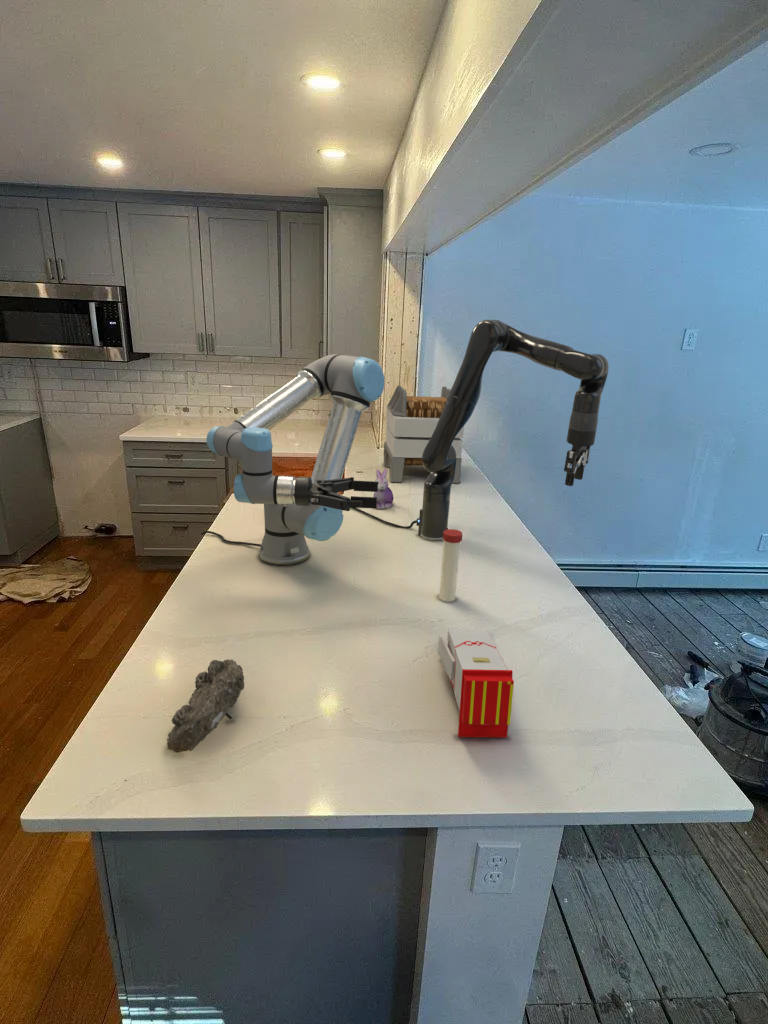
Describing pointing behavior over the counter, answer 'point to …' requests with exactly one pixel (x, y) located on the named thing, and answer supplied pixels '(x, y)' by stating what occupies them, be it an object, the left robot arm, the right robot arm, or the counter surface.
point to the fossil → (206, 705)
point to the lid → (452, 536)
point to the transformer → (414, 431)
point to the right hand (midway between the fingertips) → (573, 482)
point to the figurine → (383, 491)
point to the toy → (478, 682)
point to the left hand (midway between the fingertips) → (377, 494)
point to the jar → (449, 571)
